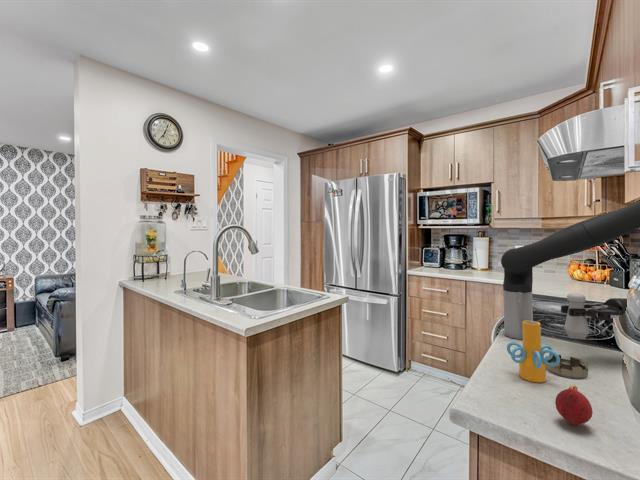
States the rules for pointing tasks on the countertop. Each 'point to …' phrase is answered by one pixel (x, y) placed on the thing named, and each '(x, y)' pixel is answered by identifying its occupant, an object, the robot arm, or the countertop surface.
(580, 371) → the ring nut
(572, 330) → the salt shaker
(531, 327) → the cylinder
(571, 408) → the red oval fruit
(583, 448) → the countertop surface
